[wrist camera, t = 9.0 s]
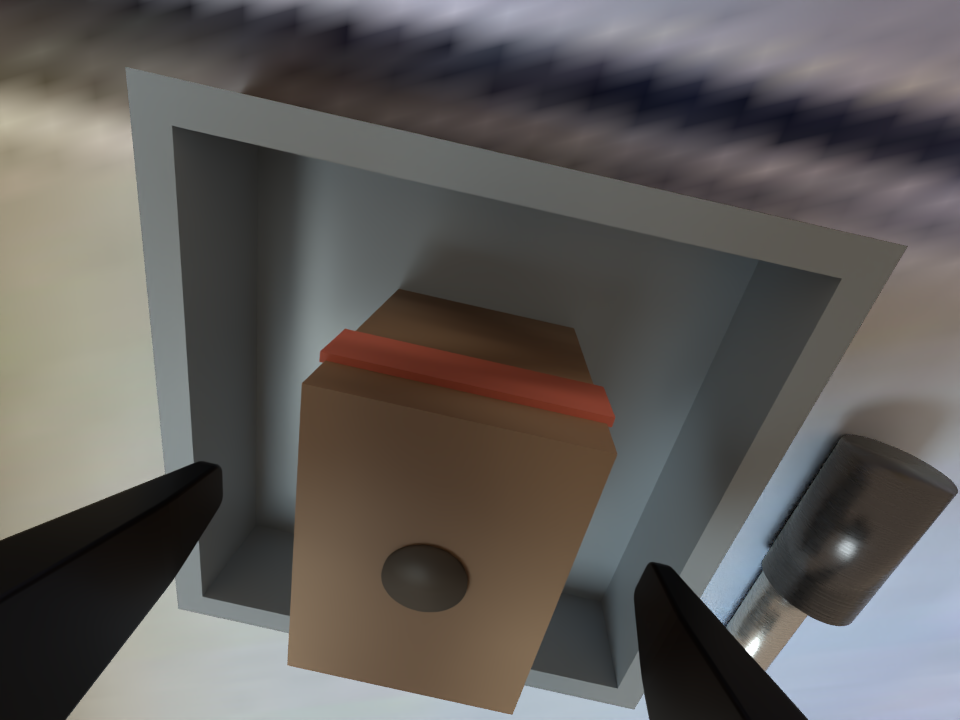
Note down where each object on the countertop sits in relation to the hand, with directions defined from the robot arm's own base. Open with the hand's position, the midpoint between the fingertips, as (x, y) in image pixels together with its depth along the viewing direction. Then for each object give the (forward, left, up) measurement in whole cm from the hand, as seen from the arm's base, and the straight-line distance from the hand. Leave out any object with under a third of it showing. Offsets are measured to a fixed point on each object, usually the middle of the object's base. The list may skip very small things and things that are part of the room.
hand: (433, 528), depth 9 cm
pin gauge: (-12, +5, -5) cm, 14 cm away
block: (0, 0, -5) cm, 5 cm away
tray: (0, 0, -5) cm, 5 cm away
